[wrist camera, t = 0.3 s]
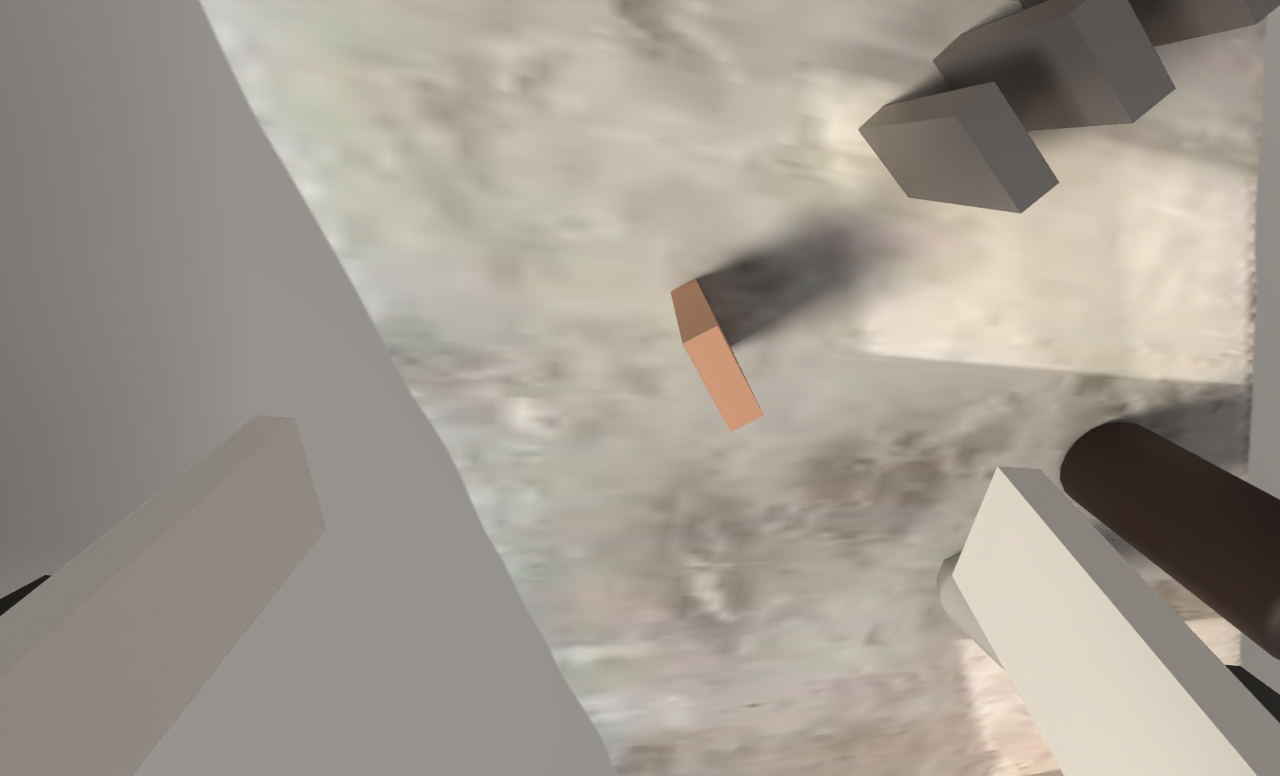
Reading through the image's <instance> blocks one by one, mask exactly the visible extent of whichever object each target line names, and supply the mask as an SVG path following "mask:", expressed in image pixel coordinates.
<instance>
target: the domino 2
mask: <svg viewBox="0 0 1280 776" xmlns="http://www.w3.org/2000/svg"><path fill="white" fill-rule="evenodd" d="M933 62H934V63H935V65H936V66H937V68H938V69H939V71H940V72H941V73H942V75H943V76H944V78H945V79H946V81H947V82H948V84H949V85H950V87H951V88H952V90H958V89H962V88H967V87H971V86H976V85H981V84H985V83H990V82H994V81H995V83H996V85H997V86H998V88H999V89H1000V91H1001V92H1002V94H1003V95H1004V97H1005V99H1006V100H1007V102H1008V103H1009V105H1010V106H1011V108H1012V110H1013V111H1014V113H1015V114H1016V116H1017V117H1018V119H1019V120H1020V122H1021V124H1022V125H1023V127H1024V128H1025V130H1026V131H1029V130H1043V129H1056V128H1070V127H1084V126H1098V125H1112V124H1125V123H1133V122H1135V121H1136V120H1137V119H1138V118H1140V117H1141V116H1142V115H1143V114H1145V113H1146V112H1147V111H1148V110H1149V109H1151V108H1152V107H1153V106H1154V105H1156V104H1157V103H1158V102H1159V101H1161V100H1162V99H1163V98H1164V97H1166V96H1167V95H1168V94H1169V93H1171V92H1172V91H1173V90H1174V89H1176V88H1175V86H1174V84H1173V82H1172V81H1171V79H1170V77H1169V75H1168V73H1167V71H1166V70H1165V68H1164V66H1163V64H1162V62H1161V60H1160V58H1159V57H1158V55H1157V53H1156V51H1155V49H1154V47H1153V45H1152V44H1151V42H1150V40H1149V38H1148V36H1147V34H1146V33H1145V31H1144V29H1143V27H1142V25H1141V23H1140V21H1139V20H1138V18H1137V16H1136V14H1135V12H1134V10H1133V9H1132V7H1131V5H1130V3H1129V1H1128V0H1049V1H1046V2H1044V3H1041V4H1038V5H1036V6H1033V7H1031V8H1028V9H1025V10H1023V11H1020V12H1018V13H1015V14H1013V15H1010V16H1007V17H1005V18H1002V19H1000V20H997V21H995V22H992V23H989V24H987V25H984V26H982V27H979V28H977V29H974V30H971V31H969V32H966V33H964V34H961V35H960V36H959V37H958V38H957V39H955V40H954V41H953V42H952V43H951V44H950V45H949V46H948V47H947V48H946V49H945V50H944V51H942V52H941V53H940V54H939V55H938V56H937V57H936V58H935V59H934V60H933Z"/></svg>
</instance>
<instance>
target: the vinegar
mask: <svg viewBox="0 0 1280 776" xmlns="http://www.w3.org/2000/svg"><path fill="white" fill-rule="evenodd" d="M1060 480H1061V483H1062V485H1063V488H1064V490H1065V492H1066V493H1067V494H1068V495H1069V496H1070V497H1071V498H1072V499H1073V500H1074V501H1076V502H1077V503H1078V504H1079V505H1081V506H1082V507H1083V508H1084V509H1086V510H1087V511H1088V512H1090V513H1091V514H1092V515H1093V516H1095V517H1096V518H1097V519H1098V520H1100V521H1101V522H1102V523H1104V524H1105V525H1106V526H1107V527H1109V528H1110V529H1111V530H1112V531H1114V532H1115V533H1116V534H1118V535H1119V536H1120V537H1121V538H1123V539H1124V540H1125V541H1126V542H1128V543H1129V544H1130V545H1132V546H1133V547H1134V548H1135V549H1137V550H1138V551H1139V552H1140V553H1142V554H1143V555H1144V556H1146V557H1147V558H1148V559H1149V560H1151V561H1152V562H1153V563H1154V564H1156V565H1157V566H1158V567H1160V568H1161V569H1162V570H1163V571H1165V572H1166V573H1167V574H1168V575H1170V576H1171V577H1172V578H1174V579H1175V580H1176V581H1177V582H1179V583H1180V584H1181V585H1182V586H1184V587H1185V588H1186V589H1188V590H1189V591H1190V592H1191V593H1193V594H1194V595H1195V596H1196V597H1198V598H1199V599H1200V600H1202V601H1203V602H1204V603H1205V604H1207V605H1208V606H1209V607H1210V608H1212V609H1213V610H1214V611H1216V612H1217V613H1218V614H1219V615H1221V616H1222V617H1223V618H1224V619H1226V620H1227V621H1228V622H1230V623H1231V624H1232V625H1233V626H1235V627H1236V628H1237V629H1238V630H1240V631H1241V632H1242V633H1244V634H1245V635H1246V636H1247V637H1249V638H1250V639H1251V640H1252V641H1254V642H1255V643H1256V644H1258V645H1259V646H1260V647H1261V648H1263V649H1264V650H1265V651H1267V652H1268V653H1269V654H1270V655H1272V656H1273V657H1275V658H1276V659H1279V660H1280V500H1279V499H1277V498H1275V497H1273V496H1272V495H1270V494H1268V493H1266V492H1264V491H1262V490H1261V489H1259V488H1257V487H1255V486H1253V485H1251V484H1249V483H1247V482H1245V481H1244V480H1242V479H1240V478H1238V477H1236V476H1234V475H1232V474H1230V473H1229V472H1227V471H1225V470H1223V469H1221V468H1219V467H1217V466H1215V465H1214V464H1212V463H1210V462H1208V461H1206V460H1204V459H1202V458H1200V457H1199V456H1197V455H1195V454H1193V453H1191V452H1189V451H1187V450H1185V449H1184V448H1182V447H1180V446H1178V445H1176V444H1174V443H1172V442H1170V441H1168V440H1167V439H1165V438H1163V437H1161V436H1159V435H1157V434H1155V433H1153V432H1152V431H1150V430H1148V429H1145V428H1143V427H1141V426H1139V425H1136V424H1129V423H1114V424H1109V425H1104V426H1101V427H1099V428H1097V429H1095V430H1093V431H1091V432H1089V433H1087V434H1086V435H1085V436H1083V437H1082V438H1081V439H1079V440H1078V441H1077V442H1076V443H1075V444H1074V445H1073V446H1072V448H1071V449H1070V450H1069V451H1068V453H1067V454H1066V456H1065V458H1064V460H1063V463H1062V465H1061V473H1060Z"/></svg>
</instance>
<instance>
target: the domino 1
mask: <svg viewBox="0 0 1280 776" xmlns="http://www.w3.org/2000/svg"><path fill="white" fill-rule="evenodd" d="M858 130H859V131H860V133H861V134H862V135H863V137H864V138H865V139H866V141H867V142H868V144H869V145H870V146H871V148H872V149H873V150H874V152H875V153H876V154H877V156H878V157H879V158H880V160H881V161H882V162H883V164H884V165H885V166H886V168H887V169H888V170H889V172H890V173H891V175H892V176H893V177H894V179H895V180H896V181H897V183H898V184H899V185H900V187H901V188H902V189H903V191H904V192H905V193H906V195H907V196H908V197H909V198H916V199H923V200H931V201H938V202H945V203H952V204H959V205H966V206H973V207H980V208H987V209H994V210H1001V211H1008V212H1015V213H1022V212H1023V211H1025V210H1026V209H1027V208H1028V207H1030V206H1031V205H1032V204H1033V203H1034V202H1036V201H1037V200H1038V199H1039V198H1041V197H1042V196H1043V195H1044V194H1046V193H1047V192H1048V191H1049V190H1051V189H1052V188H1053V187H1054V186H1056V185H1057V184H1058V183H1059V181H1058V180H1057V178H1056V176H1055V175H1054V173H1053V172H1052V170H1051V169H1050V167H1049V166H1048V164H1047V162H1046V161H1045V159H1044V158H1043V156H1042V155H1041V153H1040V152H1039V150H1038V148H1037V147H1036V145H1035V144H1034V142H1033V141H1032V139H1031V138H1030V136H1029V134H1028V133H1027V131H1026V130H1025V128H1024V127H1023V125H1022V124H1021V122H1020V120H1019V119H1018V117H1017V116H1016V114H1015V113H1014V111H1013V110H1012V108H1011V106H1010V105H1009V103H1008V102H1007V100H1006V99H1005V97H1004V95H1003V94H1002V92H1001V91H1000V89H999V88H998V86H997V85H996V83H995V81H994V82H990V83H985V84H981V85H976V86H971V87H967V88H962V89H958V90H953V91H949V92H944V93H940V94H935V95H930V96H926V97H921V98H917V99H912V100H908V101H903V102H898V103H894V104H889V105H885V106H883V107H882V108H881V109H880V110H879V111H878V112H876V113H875V114H874V115H873V116H872V117H871V118H870V119H869V120H868V121H867V122H866V123H865V124H863V125H862V126H861V127H860V128H859V129H858Z"/></svg>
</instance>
